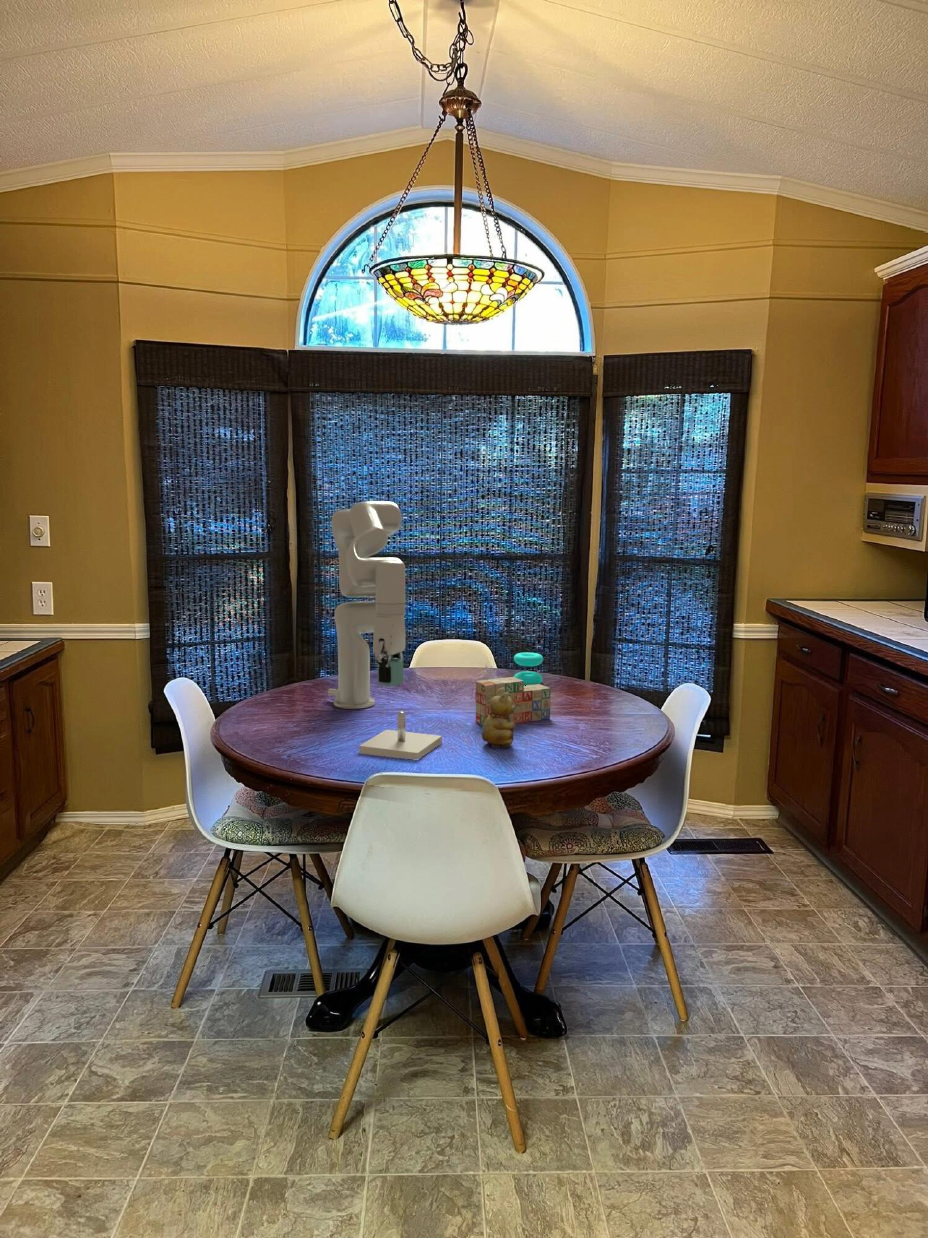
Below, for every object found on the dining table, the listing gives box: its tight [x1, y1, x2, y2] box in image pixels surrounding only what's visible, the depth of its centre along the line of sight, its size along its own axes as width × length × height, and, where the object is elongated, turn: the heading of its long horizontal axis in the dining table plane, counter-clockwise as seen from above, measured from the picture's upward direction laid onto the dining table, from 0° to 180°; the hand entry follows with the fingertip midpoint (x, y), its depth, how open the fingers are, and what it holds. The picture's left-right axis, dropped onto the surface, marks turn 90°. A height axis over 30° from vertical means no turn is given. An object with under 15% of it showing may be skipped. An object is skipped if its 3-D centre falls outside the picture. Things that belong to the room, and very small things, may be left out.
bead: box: [377, 657, 404, 687], centre depth 228 cm, size 6×6×6 cm
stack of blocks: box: [475, 676, 551, 726], centre depth 257 cm, size 21×6×12 cm, turn 116°
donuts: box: [513, 651, 544, 686], centre depth 305 cm, size 10×10×10 cm
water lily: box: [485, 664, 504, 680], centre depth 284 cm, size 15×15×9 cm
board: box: [358, 710, 443, 760], centre depth 229 cm, size 16×16×10 cm
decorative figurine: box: [481, 688, 516, 748], centre depth 233 cm, size 10×8×15 cm
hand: (390, 678), depth 228 cm, fingers closed on bead, 6 cm apart
